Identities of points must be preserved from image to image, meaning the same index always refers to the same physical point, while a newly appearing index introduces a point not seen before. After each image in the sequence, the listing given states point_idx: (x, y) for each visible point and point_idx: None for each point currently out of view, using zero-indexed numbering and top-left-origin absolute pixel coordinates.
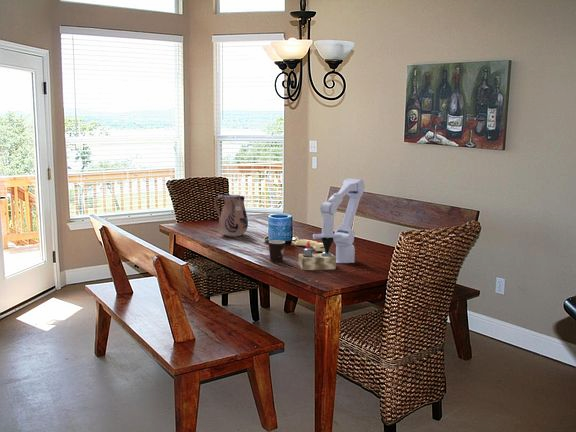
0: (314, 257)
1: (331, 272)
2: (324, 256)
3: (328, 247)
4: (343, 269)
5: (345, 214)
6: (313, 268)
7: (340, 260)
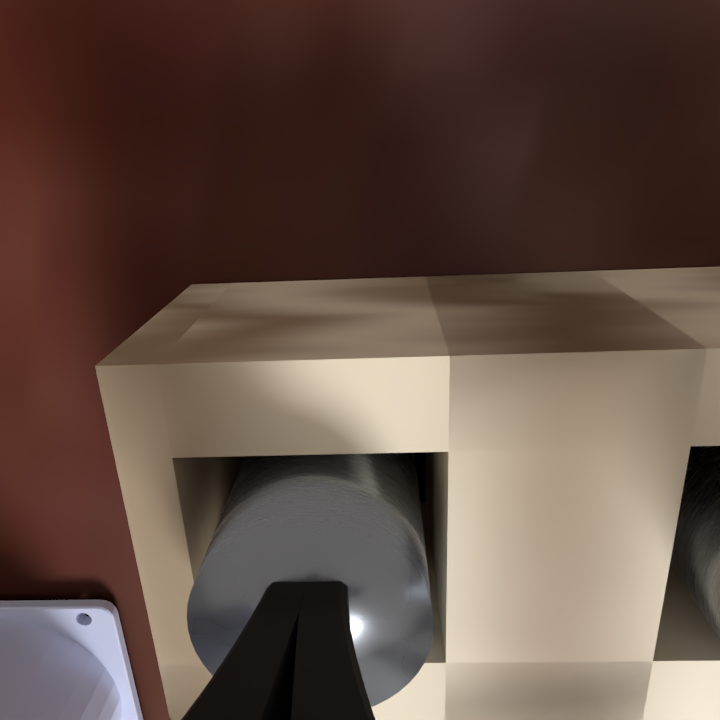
0: (709, 402)
1: (318, 43)
2: (392, 495)
3: (247, 708)
4: (48, 253)
5: None
6: (632, 274)
7: (48, 648)
